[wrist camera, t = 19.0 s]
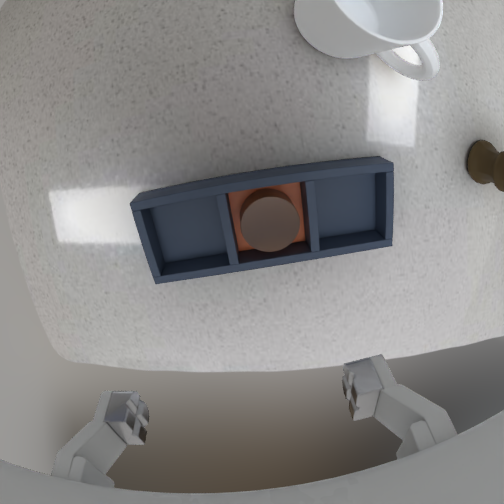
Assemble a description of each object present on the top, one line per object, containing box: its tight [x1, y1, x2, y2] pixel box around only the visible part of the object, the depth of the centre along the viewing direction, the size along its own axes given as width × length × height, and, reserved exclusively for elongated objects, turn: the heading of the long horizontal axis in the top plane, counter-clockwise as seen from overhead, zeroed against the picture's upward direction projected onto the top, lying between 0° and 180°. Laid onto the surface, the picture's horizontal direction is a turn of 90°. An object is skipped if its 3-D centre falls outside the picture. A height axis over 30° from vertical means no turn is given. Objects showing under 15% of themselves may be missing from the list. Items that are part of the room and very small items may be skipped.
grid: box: [130, 156, 394, 284], centre depth 28 cm, size 8×23×3 cm, turn 99°
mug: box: [294, 0, 443, 81], centre depth 17 cm, size 12×8×10 cm
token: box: [240, 188, 300, 252], centre depth 27 cm, size 5×5×2 cm
